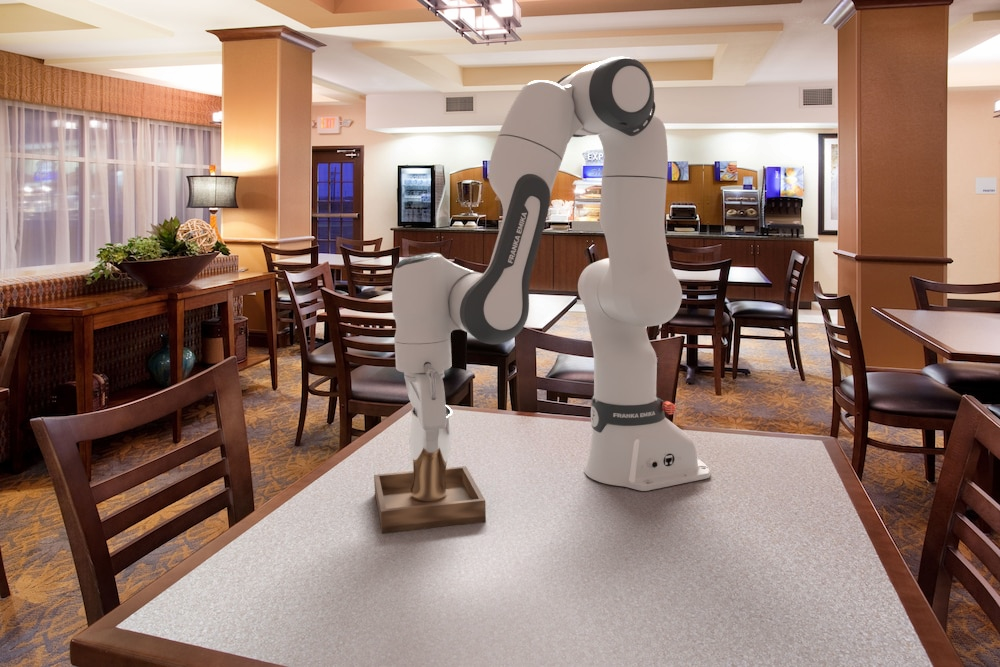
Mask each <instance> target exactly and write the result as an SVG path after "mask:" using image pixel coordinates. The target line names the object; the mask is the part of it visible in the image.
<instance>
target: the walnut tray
mask: <svg viewBox="0 0 1000 667" xmlns="http://www.w3.org/2000/svg"><path fill="white" fill-rule="evenodd" d="M412 479H413V470H411V471H399V472H390V473H381V474H380V473H379V474H374V475H373V481H374V484H373V485H374V497H375V501H376V502H375V503H376V509H377V512H378V513H377V514H378V518H379V519H378V520H379V523H380V524H379V525H380V529H381V534H389V533H390V532H391V533H398V531H400V532H407V531H406V530H408V531H415V530H414V529H417V530H424V529H434V528H441V527H450V526H460V525H469V524H478V523H486V522H487V521H486V520H487V516H486V515H487V513H486V498H485V497H484V495H483V494H482V492H481V490H480V488H479V487H478V485H477V482H475V480H474V478H473V476H472V475H471V473H470V470H469V469H468V467H467V466H466V465H465V466H453V467H446V470H445V482H446V488H447V492H446V495H445V496H444V497H443V498H442V499H440V500H437V501H432V502H425V501H420V500H417V499H415V498H414V497H413V496H412V495H411V493H410V487H411V483H412ZM391 533H390V534H391Z"/></svg>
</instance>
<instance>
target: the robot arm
mask: <svg viewBox="0 0 1000 667" xmlns="http://www.w3.org/2000/svg"><path fill="white" fill-rule="evenodd" d="M655 111H656V103H655V90H654V84H653V80H652V76H651V74H650V73H649V71H648V70H647V67H646V66H645V65H644V64H643V63H642V62H640V61H639V60H637V59H634V58H631V57H625V56H614V57H610V58H607V59H605V60H601V61H597V62H594V63H591V64H590V63H589V64H587V65H585V66H583V67H582V68H581V69H579V70H577V71H575V72H572V73H570V74H568V75H564V77H561V78H560V79H559V80H558V81H557V82H554V81H550V80H547V79H546V80H542V79H541V80H539V79H537V80H532V81H530V82H528V83H526V84H525V85H524V86H522V88H521V90H520V91H519V93H518V94H517V96H516V97H515V100H514V101H513V103H512V105H511V106H510V108H509V110H508V113H507V114H506V116H505V118H504V121H503V123H502V125H501V127H500V131H499V132H498V135H497V138H496V141H495V143H494V145H493V149H492V153H491V156H490V161H489V165H488V166H489V167H488V175H487V178H488V181H489V184H490V186H491V189H492V190H493V192H494V193H495V194H496V196H497V197H498V199H499V200H500V203H501V206H502V220H501V224H500V228H499V231H498V234H497V238H496V240H495V244H494V246H493V247H494V248H493V250H492V251H493V252H492V255H491V258H490V262H489V264H488V266H487V268H486V269H485V271H484V272H478V271H475V270H471V269H469V268H466V267H465V266H464V267H463V266H461V265H459V264H457V263H454V262H452V261H450V260H449V259H447V258H445V256H443V255H442V254H441V253H438V252H427V253H420V254H415V255H411V256H409V257H406V258H403V259H402V260H400V261H398V263H397V264H396V265H395V267H394V269H393V276H392V283H391V284H392V285H391V287H392V289H391V292H392V293H391V295H392V296H391V297H392V298H391V301H392V302H391V304H392V314H393V318H394V321H395V333H394V338H393V339H394V340H393V341H394V356H395V369H396V370H397V371H398V372H401V373H403V374H404V375H403V376H404V382H405V386H406V392H407V396H408V399H409V401H410V404H411V406H412V408H413V407H414V410H415V412H416V415H417V417H418V419H419V421H420V423H421V425H422V428H423V429H424V430H425V437H426V438H425V444H426V449H427V451H428V452H433V451H437V450H438V437H439V429H443V428H445V427H446V423H447V416H446V406H447V404H446V402H447V401H446V394H445V385H444V380H443V379H444V378H445V371H446V370H449V369H450V368H451V367H452V365H453V364H452V342H451V341H452V340H451V339H452V338H451V333H452V332H453V331H456V330H461V331H464V332H465V333H468V334H470V335H471V336H472V337H474V338H475V339H476V340H478V341H479V342H481V343H484V344H487V345H499V344H504V343H507V342H509V341H511V340H513V339H514V338H515V337H516V336H517V335H519V334H520V332H522V330H523V328H524V327H525V325H526V323H527V320H528V317H529V312H530V295H529V294H530V290H529V288H530V280H531V275H532V272H533V268H534V264H535V260H536V257H537V254H538V250H539V246H540V243H541V240H542V235H543V232H544V229H545V224H546V223H547V219H548V218H547V217H548V213H549V208H550V202H551V196H552V192H553V189H554V185H555V181H556V180H557V177H558V173H559V170H560V167H561V165H562V162H563V159H564V156H565V153H566V151H567V147H568V144H569V143H570V141H571V139H572V138H582V137H587V136H598V138H599V140H600V142H601V145H602V150H603V164H602V166H603V167H602V175H601V186H600V187H601V188H600V189H601V190H600V202H599V204H600V206H599V221H598V222H599V225H600V228H601V230H602V232H603V234H604V237H605V242H606V247H607V253H608V257H607V258H606V257H605V258H603V259H600V260H597V261H595V262H592V263H590V264H589V265H587V266H586V267H585V268H584V269H583V270H582V272H581V274H580V276H579V278H578V281H577V291H578V296H579V299H580V300H581V302H582V304H583V307H584V310H585V314H586V319H587V323H588V324H587V325H588V329H589V330H588V331H589V334H590V341H591V345H592V351H593V381H594V382H593V396H592V397H591V408H590V422H591V428H592V434H591V442H590V448H589V453H588V457H587V460H586V465H585V466H584V467H585V468H584V473H585V475H586V476H587V477H589V478H590V479H591V480H594V481H596V482H599V483H602V484H605V485H611V486H618V487H625V488H629V489H633V490H636V491H641V492H647V491H651V490H657V489H658V490H659V489H662V488H667V487H672V486H676V485H681V484H686V483H691V482H696V481H701V480H705V479H710V477H711V470H710V467H709V466H708V465H707V464H706V463H705V462H703V461H702V460H701V459H700V458H698V453H697V449H696V444H695V443H694V440H693V439H692V437H691V436H689V434H688V433H686V432H685V431H684V430H683V429H681V428H680V427H678V426H677V425H676V424H674V423H673V422H672V421H671V420H670V419H668V418H667V417H666V415H665V413H666V414H668V415H674V414H675V412H676V411H677V405H676V404H674V403H672V402H671V401H669V400H664V399H661V398H659V397H658V396H657V379H658V378H657V370H658V369H657V368H658V365H657V363H658V359H657V352H656V351H655V349H654V348H653V345H652V344H651V341H650V339H649V335H648V331H647V330H648V329H647V327H654V326H660V325H664V324H666V323H667V322H669V321H671V320H672V319H673V318H674V317H675V316H676V315H677V313H678V312H679V309H680V306H681V304H682V301H683V291H682V286H681V283H680V281H679V279H678V277H677V276H676V274H675V273H674V272H675V271H673V269H672V265H671V262H670V256H669V251H668V246H667V245H668V244H667V238H666V229H665V219H666V218H665V215H666V201H667V200H666V198H667V183H668V171H669V168H668V167H669V166H668V164H669V163H668V162H669V159H668V154H669V153H668V152H669V151H668V139H667V134H666V127H665V124H664V122H663V121H662V120H661V119H660V118H659V116H658V117H657V115H655Z"/></svg>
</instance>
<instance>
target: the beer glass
mask: <svg viewBox="0 0 1000 667" xmlns="http://www.w3.org/2000/svg"><path fill="white" fill-rule="evenodd" d="M410 413H411V414H410V418H409V427H408V429H409V430H408V431H409V432H408V443H409V453H410V458H411V463H412V471H413V479H412V483H411V487H410V493H411V495H412V496H413V497H414V498H415V499H417V500H420V501H425V502H432V501H437V500H440V499H442V498H443V497H444V496H445V495H446V492H447V488H446V482H445V470H446V468H447V464H448V461H449V457H450V452H451V448H452V443H453V410H452V409H451V407H450V406H448V405H446V416H447V423H446V427H445V428H443V429H439V437H438V450H437V451H433V452H428V451H427V449H426V444H425V438H426V437H425V430H424V429H423V428H422V425H421V423H420V421H419V419H418V417H417V415H416V412H415V410H414V407H413V406H412V408H411V409H410Z"/></svg>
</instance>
